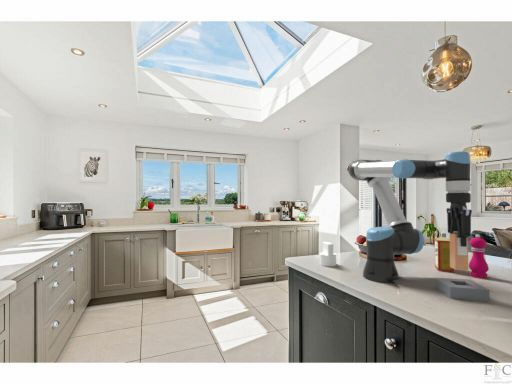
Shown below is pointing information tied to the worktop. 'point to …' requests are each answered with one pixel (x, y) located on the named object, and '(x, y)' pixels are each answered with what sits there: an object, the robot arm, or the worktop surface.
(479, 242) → the pepper mill
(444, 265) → the baking soda box
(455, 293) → the grey square socket block
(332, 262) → the cylinder with rectangular tab
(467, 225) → the robot arm
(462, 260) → the plug
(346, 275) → the worktop surface
